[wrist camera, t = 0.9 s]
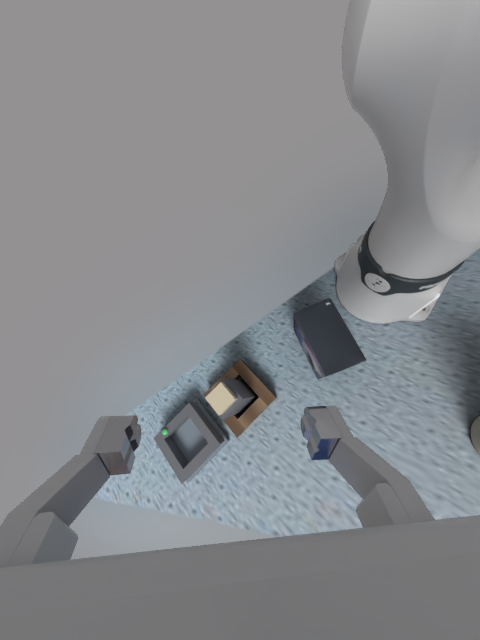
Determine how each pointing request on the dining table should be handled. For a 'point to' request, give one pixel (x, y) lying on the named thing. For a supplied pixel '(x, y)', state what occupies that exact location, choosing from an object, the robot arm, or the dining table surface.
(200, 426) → the dock
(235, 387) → the plug
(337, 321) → the small box
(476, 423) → the travel mug
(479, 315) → the dining table surface
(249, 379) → the frame
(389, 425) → the dining table surface
